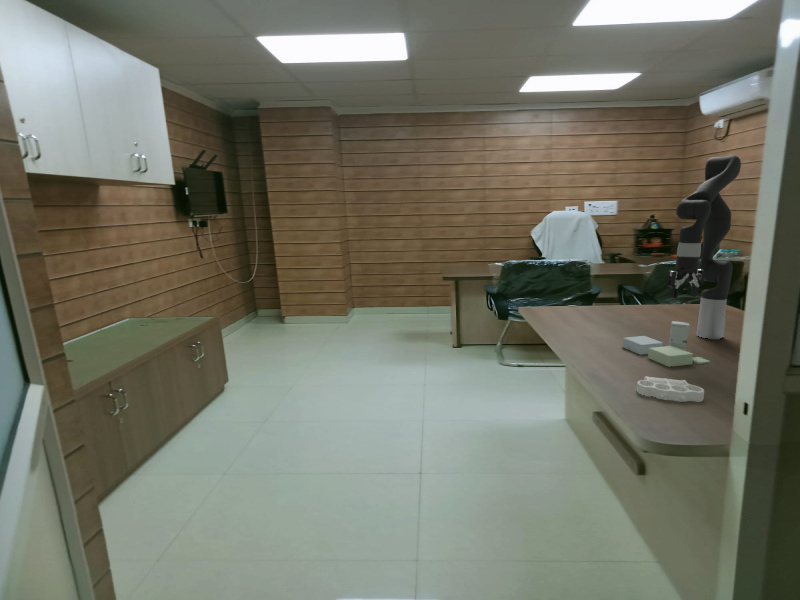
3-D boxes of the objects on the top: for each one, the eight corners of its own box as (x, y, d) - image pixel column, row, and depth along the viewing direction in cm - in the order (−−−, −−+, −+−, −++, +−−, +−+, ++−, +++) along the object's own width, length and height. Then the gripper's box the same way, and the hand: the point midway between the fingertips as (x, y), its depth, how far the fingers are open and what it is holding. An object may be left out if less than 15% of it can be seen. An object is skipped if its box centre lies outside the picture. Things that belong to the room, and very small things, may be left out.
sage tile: (698, 358, 173) (698, 356, 173) (710, 362, 169) (710, 361, 168) (687, 359, 172) (687, 358, 172) (698, 364, 167) (698, 362, 167)
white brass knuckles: (695, 388, 147) (708, 408, 133) (632, 382, 153) (638, 400, 139) (696, 378, 146) (709, 397, 133) (633, 372, 152) (639, 389, 139)
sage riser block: (670, 355, 177) (671, 345, 176) (691, 364, 167) (693, 353, 167) (647, 358, 175) (648, 347, 174) (668, 366, 165) (669, 356, 164)
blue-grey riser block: (643, 345, 190) (644, 335, 189) (662, 352, 181) (663, 342, 180) (622, 347, 188) (623, 337, 187) (640, 354, 178) (641, 344, 178)
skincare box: (667, 353, 179) (670, 323, 177) (667, 350, 183) (670, 320, 181) (686, 355, 176) (689, 325, 174) (685, 352, 180) (689, 322, 178)
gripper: (695, 253, 177) (690, 294, 180) (664, 254, 174) (660, 296, 177) (712, 255, 170) (707, 298, 173) (680, 256, 167) (675, 300, 170)
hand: (683, 297), depth 175 cm, fingers open, 8 cm apart
